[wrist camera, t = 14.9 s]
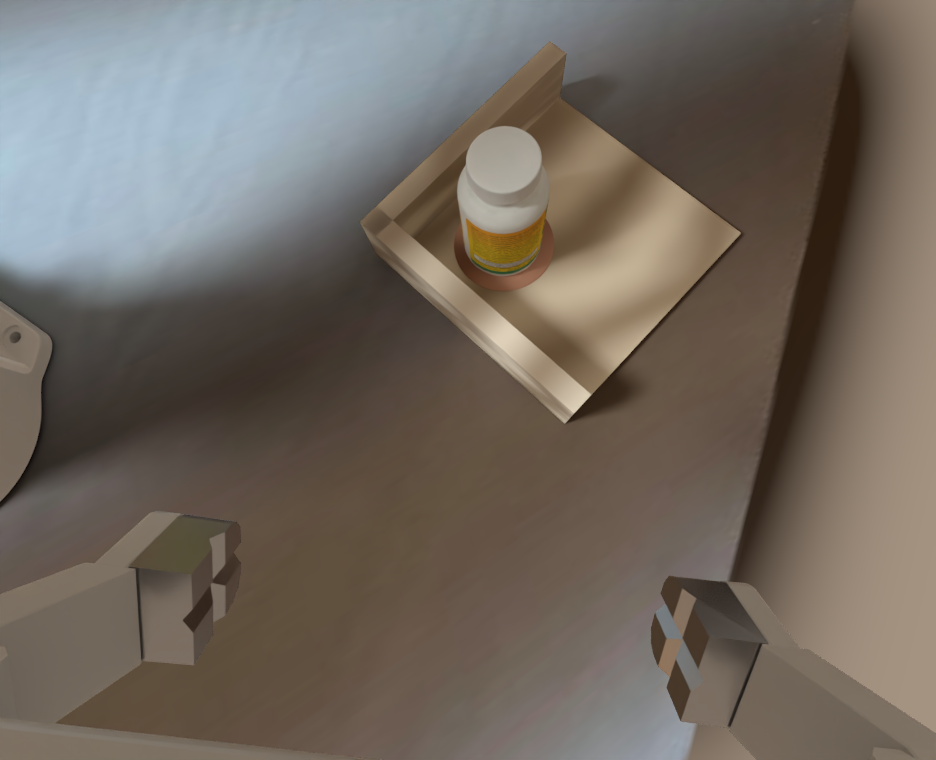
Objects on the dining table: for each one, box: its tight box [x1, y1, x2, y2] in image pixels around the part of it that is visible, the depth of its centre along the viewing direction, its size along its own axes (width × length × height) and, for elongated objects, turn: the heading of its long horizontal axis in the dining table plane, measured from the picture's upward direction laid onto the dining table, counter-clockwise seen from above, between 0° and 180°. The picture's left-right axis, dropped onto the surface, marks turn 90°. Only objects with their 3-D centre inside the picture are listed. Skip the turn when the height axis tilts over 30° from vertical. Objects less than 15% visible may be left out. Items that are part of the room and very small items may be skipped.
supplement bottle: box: [457, 126, 550, 276], centre depth 32 cm, size 5×5×10 cm
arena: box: [360, 42, 741, 424], centre depth 35 cm, size 18×18×4 cm
